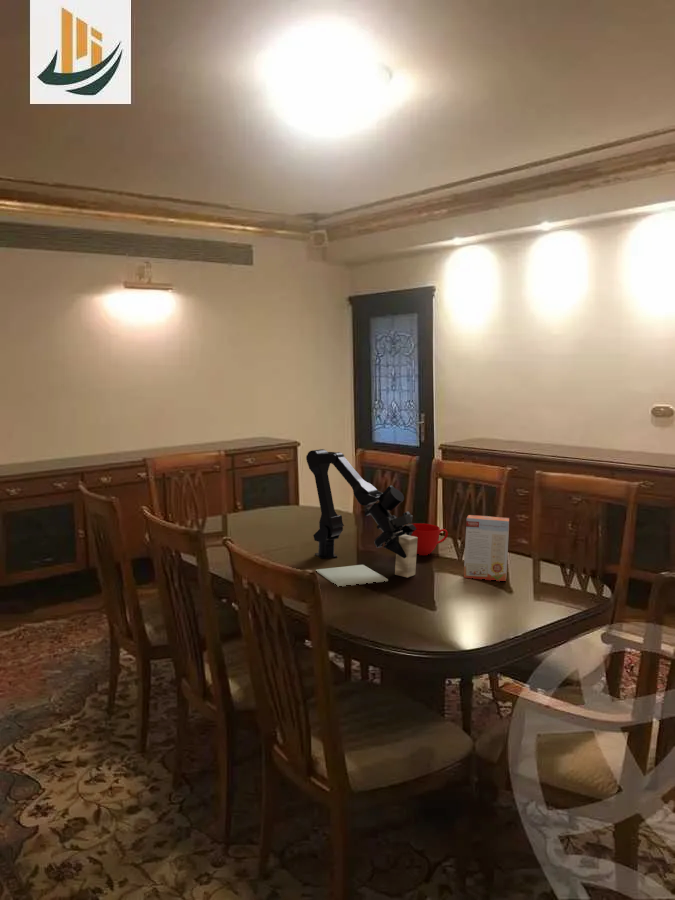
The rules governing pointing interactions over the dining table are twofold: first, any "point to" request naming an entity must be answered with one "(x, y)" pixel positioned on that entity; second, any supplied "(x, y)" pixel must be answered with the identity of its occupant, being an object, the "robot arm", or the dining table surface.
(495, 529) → the cracker box
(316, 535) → the robot arm
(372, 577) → the sage mat
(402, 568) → the birch block
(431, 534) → the ceramic cup
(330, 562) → the dining table surface
